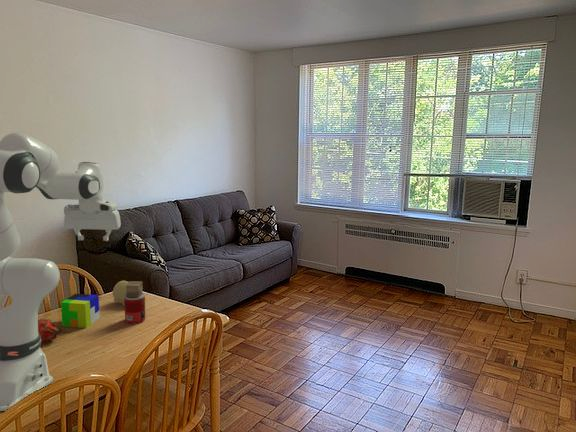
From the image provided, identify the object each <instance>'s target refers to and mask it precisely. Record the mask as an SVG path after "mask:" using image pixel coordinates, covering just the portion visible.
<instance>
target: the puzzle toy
mask: <svg viewBox="0 0 576 432" xmlns="http://www.w3.org/2000/svg"><path fill="white" fill-rule="evenodd" d="M99 299H100V295H98V294H86V293H74V294H73V295H71V296H69V297H67V298H65V300H63V301H61V302H60V307H61V308H60V309H61V321H62V322H61V325H62V327H67V328H69V327H70V328H80V329H81V328H83V329H87V328H89V326H91V325H93V324H94V323H95V322H96V321H98V320H99V319H100V300H99Z"/></svg>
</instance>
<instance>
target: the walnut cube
mask: <svg viewBox="0 0 576 432" xmlns="http://www.w3.org/2000/svg"><path fill="white" fill-rule="evenodd" d="M128 282H129V283H128V284H127V285H126V297H140V296H141V294H142V293H144V292H143V281H137V280H136V281H134V280H133V281H130V280H129V281H128Z"/></svg>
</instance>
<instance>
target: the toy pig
mask: <svg viewBox="0 0 576 432" xmlns="http://www.w3.org/2000/svg"><path fill="white" fill-rule="evenodd" d="M129 282H130V281H126V280H121V281H118V282H117V283H116V284H115V286H114V287H113V289H112V296H113V302H114V303H115V302H117V303H119V304H121V305H122V306H123V307H125V305H124V296H125V295H126V285H127V284H128V283H129Z"/></svg>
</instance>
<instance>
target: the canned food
mask: <svg viewBox="0 0 576 432" xmlns="http://www.w3.org/2000/svg"><path fill="white" fill-rule="evenodd" d="M124 305H125V306H124V320H125V323H127V324H131V325H135V324H140V323H143V322H144V321H145V320H146V296H145V293H144V292H143V293H142V294H141V296H140V297H126V295H125V296H124Z"/></svg>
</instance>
